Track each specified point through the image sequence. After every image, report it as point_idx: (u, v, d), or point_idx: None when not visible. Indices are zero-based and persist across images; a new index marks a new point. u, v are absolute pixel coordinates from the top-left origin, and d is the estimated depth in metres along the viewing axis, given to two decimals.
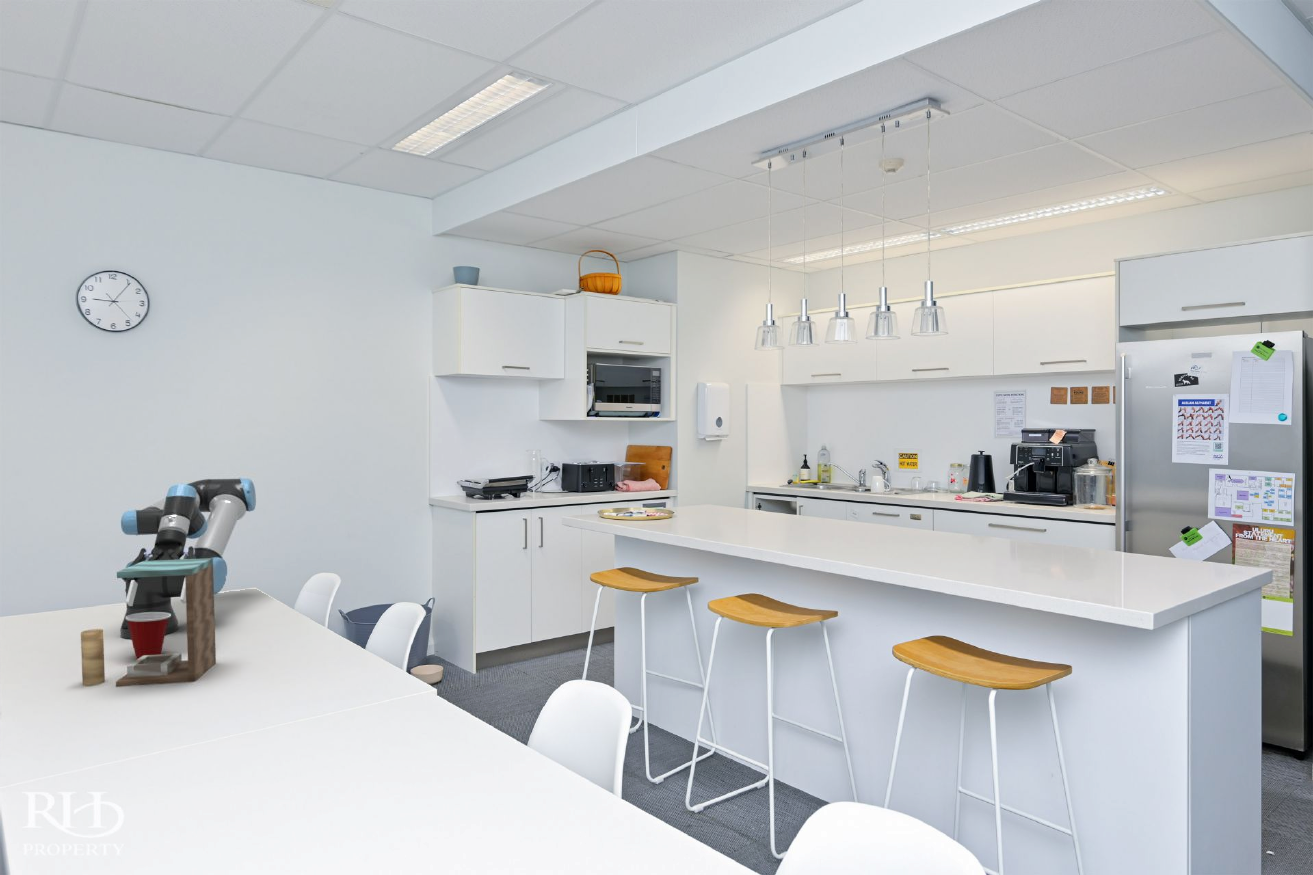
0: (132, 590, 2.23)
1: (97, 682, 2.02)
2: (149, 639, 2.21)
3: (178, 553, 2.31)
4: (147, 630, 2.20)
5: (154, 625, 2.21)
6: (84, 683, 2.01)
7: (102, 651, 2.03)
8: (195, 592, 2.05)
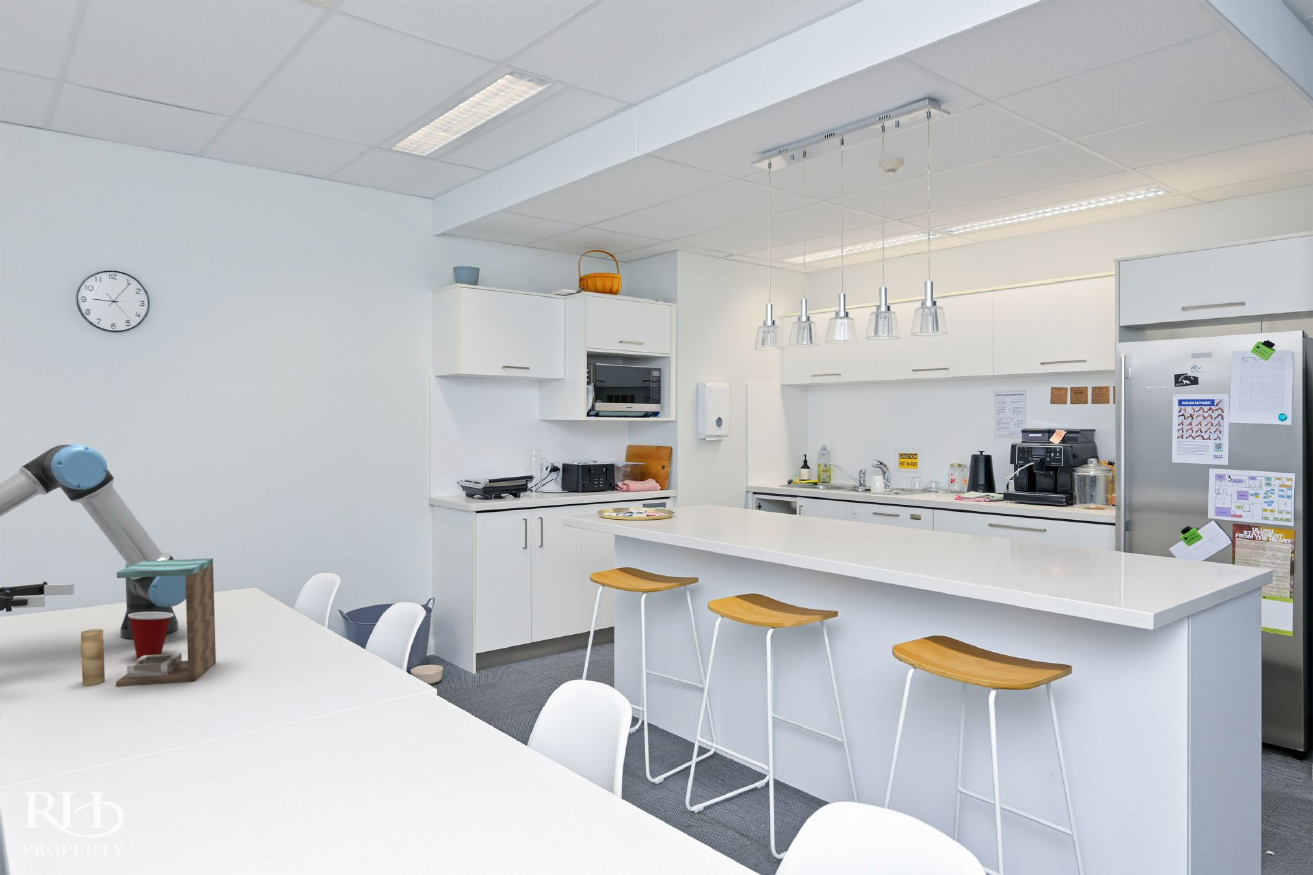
0: (56, 592, 2.10)
1: (97, 682, 2.02)
2: (151, 638, 2.21)
3: None
4: (149, 628, 2.20)
5: (157, 624, 2.21)
6: (84, 683, 2.01)
7: (102, 651, 2.03)
8: (195, 592, 2.05)
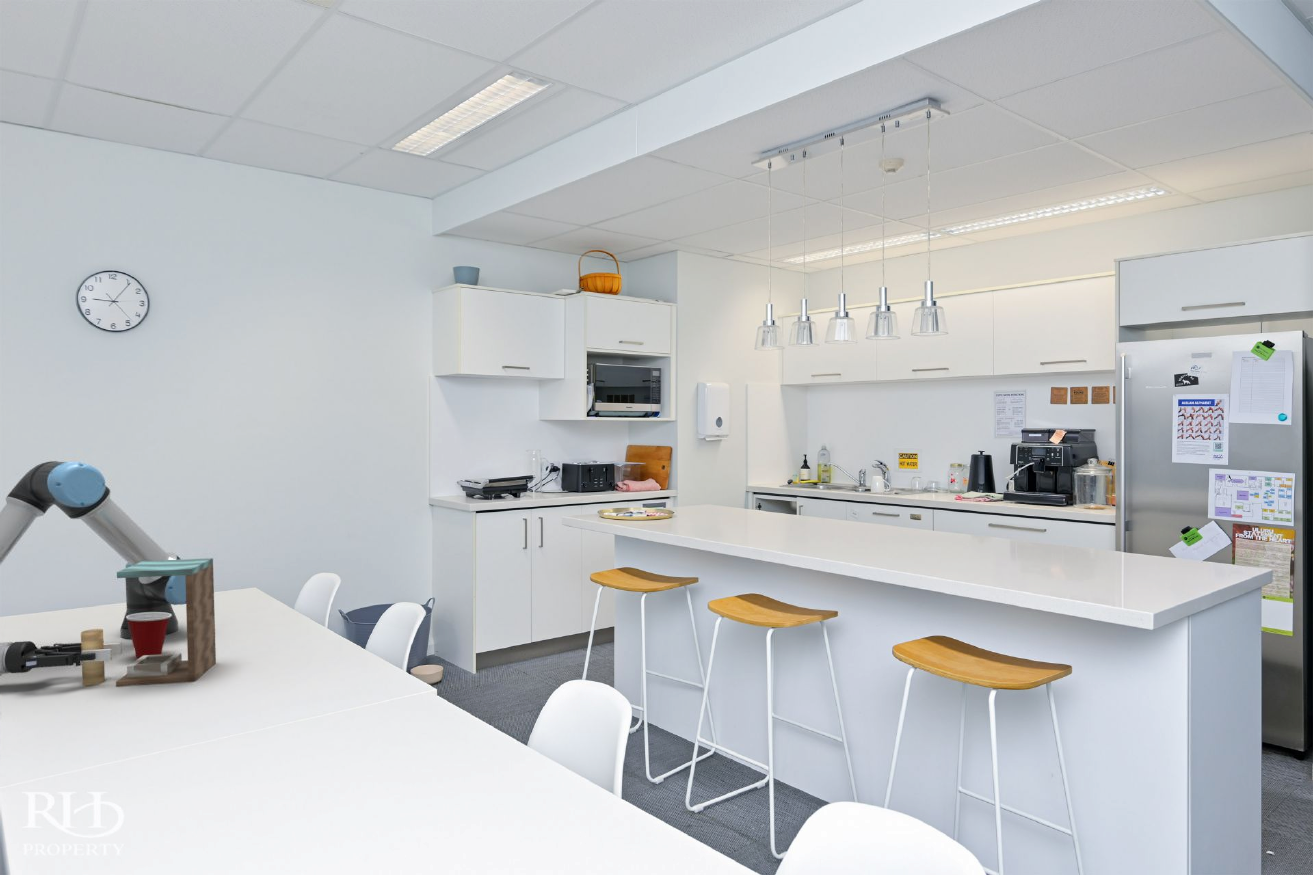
0: None
1: (97, 682, 2.02)
2: (151, 639, 2.21)
3: None
4: (149, 629, 2.20)
5: (156, 625, 2.21)
6: (84, 683, 2.01)
7: None
8: (195, 592, 2.05)
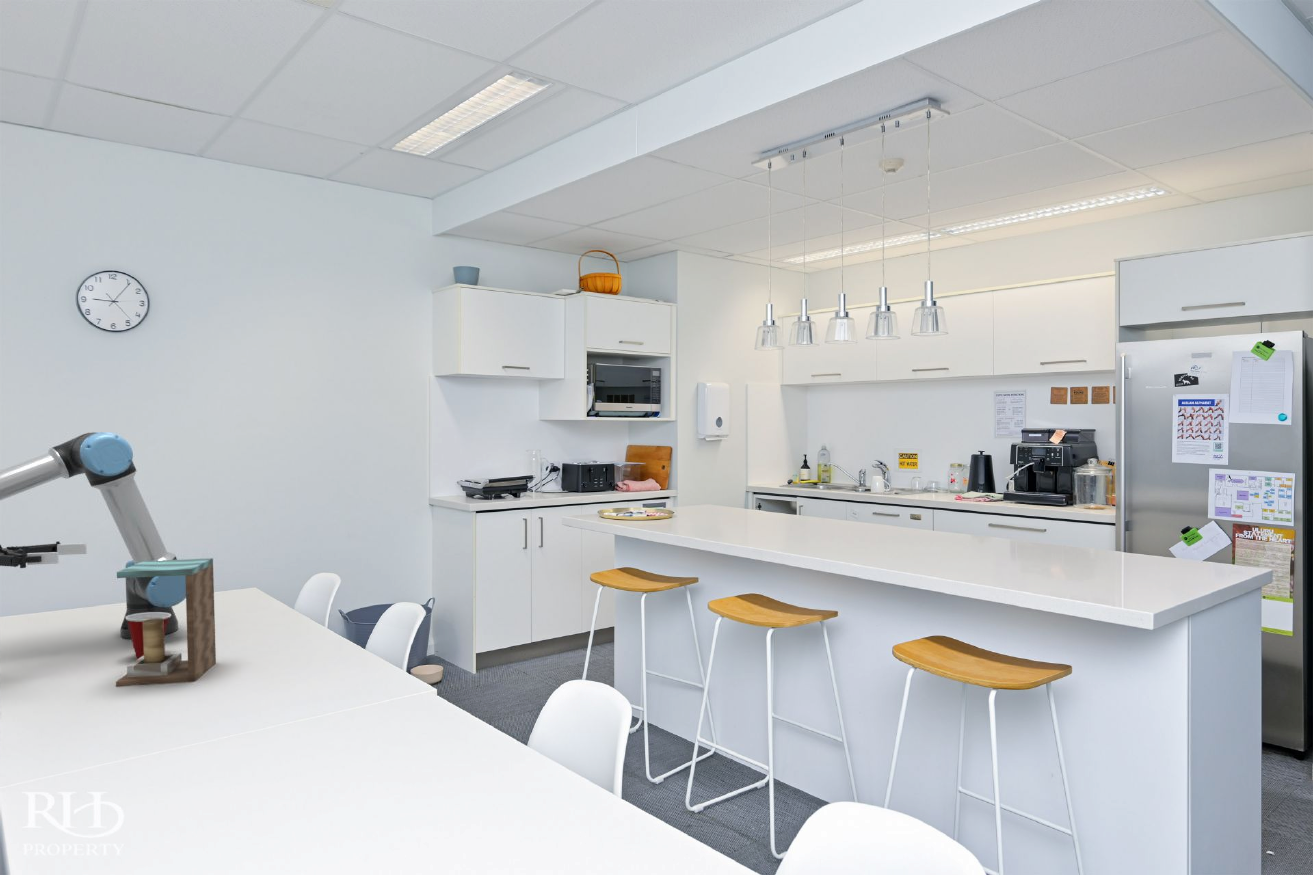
0: (68, 551, 2.13)
1: None
2: None
3: None
4: None
5: None
6: None
7: (163, 640, 2.09)
8: (195, 592, 2.05)
